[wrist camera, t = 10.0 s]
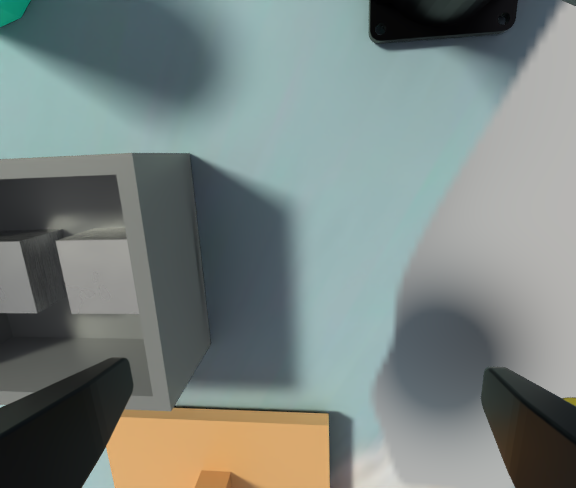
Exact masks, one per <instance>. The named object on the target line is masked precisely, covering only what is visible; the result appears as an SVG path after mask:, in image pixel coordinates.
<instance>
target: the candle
mask: <svg viewBox="0 0 576 488" xmlns="http://www.w3.org/2000/svg"><path fill="white" fill-rule="evenodd" d="M30 1H31V0H0V27H2V26H4V25H6V24H9V23H11V22H13V21H15V20H17V19H20V18H21V17H22V15H23V13H24V12H25V10H26V8H27V6H28V5H29V3H30Z"/></svg>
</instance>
